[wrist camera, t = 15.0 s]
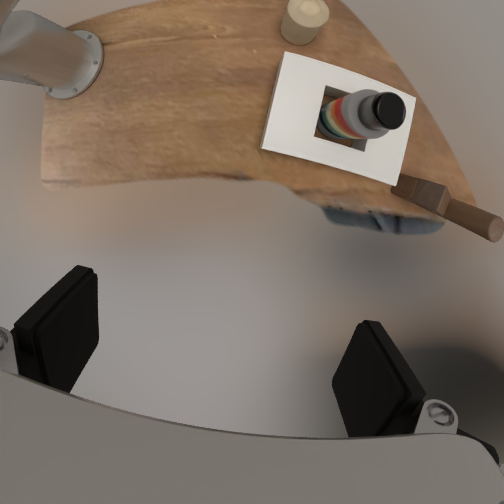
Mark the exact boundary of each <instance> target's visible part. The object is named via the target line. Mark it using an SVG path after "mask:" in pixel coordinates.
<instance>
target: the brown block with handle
mask: <svg viewBox="0 0 504 504" xmlns="http://www.w3.org/2000/svg"><path fill="white" fill-rule="evenodd" d="M391 192H392V193H393V194H395V195H397V196H400V197H402V198H404V199H406V200H409V201H411V202H413V203H415V204H417V205H419V206H421V207H423V208H425V209H427V210H429V211H431V212H433V213H435V214H437V215H439V216H441V217H443V218H445V219H447V220H449V221H451V222H454V223H456V224H458V225H460V226H462V227H464V228H466V229H468V230H470V231H472V232H474V233H476V234H478V235H480V236H482V237H483V238H485V239H487V240H489V241H491V242H497V241H499V240H500V239H501V237H502V235H503V232H504V222H503V220H502V219H501V217H498V216H496V215H494V214H491V213H489V212H486V211H484V210H482V209H479V208H477V207H474V206H471V205H469V204H466V203H464V202H461V201H458V200H455V199H453V198H451V195H450V193H449V191H448V189H447V187H446V186H444V185H440V184H437V183H434V182H430V181H427V180H423V179H418V178H415V177H411V176H408V175H404V174H400V173H399V177H398V181H397V185H396V186H393V187H392V190H391Z"/></svg>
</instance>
